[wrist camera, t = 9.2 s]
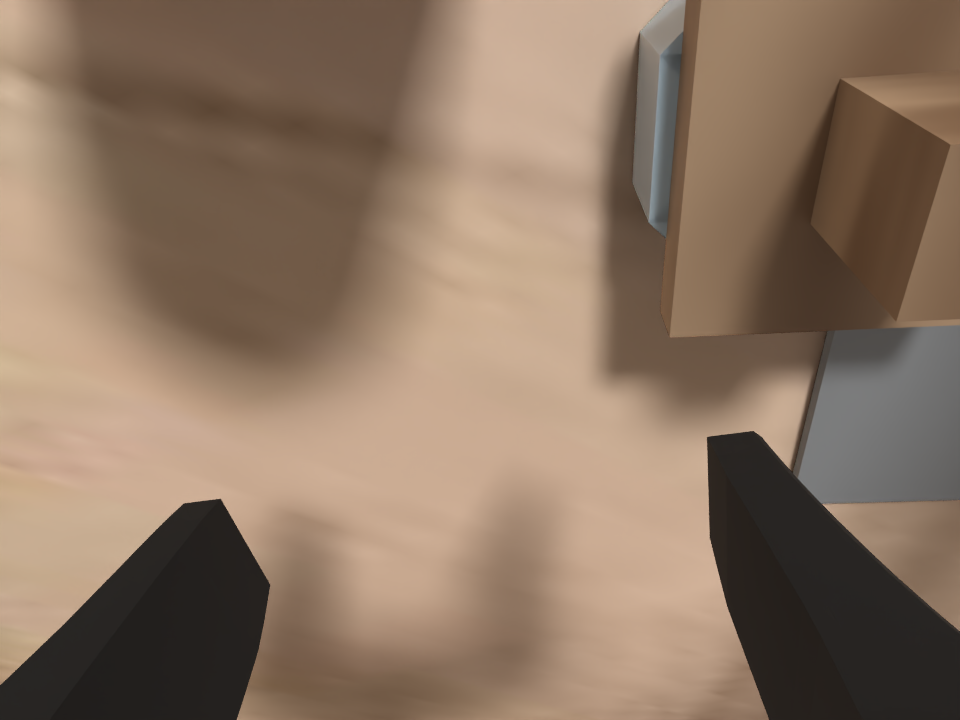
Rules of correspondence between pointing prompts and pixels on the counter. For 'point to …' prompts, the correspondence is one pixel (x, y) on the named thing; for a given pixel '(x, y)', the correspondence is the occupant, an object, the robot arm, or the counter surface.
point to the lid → (815, 168)
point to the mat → (884, 417)
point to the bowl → (657, 110)
